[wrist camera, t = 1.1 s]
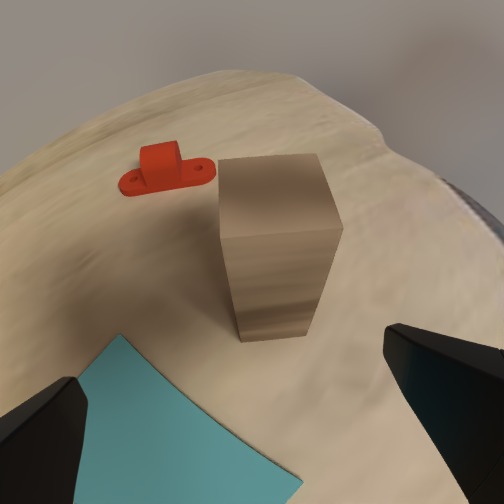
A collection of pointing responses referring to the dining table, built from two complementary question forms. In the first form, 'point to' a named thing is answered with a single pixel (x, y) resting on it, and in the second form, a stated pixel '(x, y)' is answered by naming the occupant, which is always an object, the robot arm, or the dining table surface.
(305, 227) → the walnut block
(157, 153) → the bracket
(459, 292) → the dining table surface
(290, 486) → the mat
